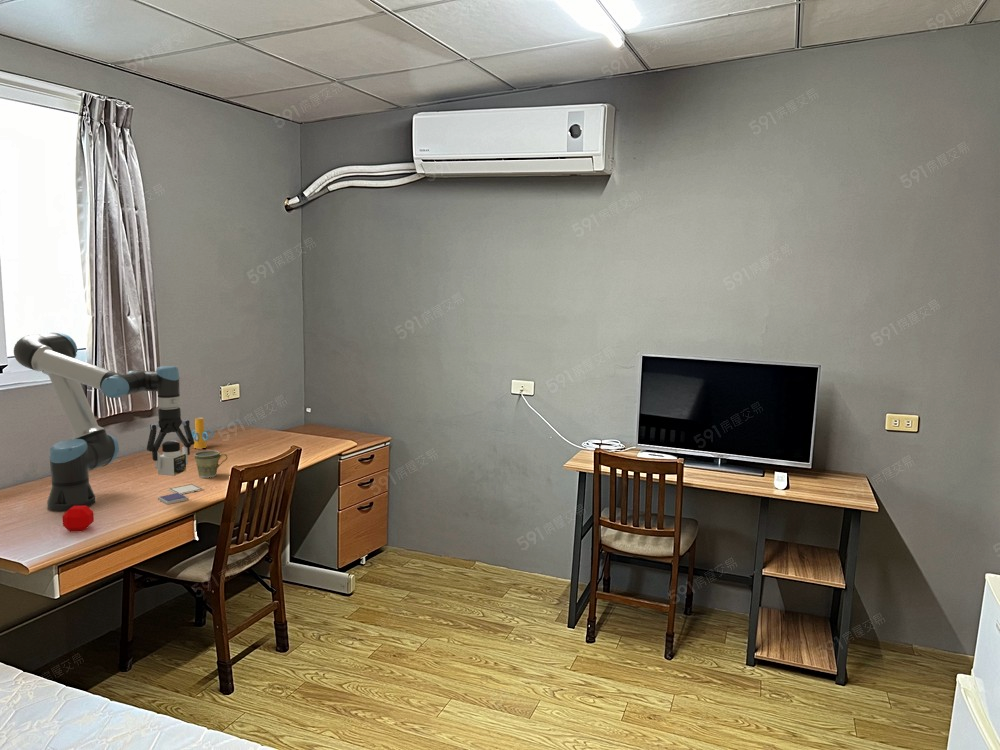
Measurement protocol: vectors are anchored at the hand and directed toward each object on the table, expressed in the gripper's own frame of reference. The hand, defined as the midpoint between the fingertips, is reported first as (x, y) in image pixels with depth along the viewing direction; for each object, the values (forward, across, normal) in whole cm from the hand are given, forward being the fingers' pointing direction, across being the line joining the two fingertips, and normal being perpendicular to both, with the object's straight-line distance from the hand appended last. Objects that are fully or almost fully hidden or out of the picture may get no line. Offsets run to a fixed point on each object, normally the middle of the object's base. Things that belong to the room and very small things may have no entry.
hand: (171, 466), depth 268 cm
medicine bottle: (+3, 0, 0) cm, 3 cm away
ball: (+13, -36, -10) cm, 39 cm away
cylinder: (+13, +44, +71) cm, 85 cm away
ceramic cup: (+13, +25, +21) cm, 36 cm away
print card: (+13, +9, +9) cm, 18 cm away
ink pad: (+13, 0, 0) cm, 13 cm away
